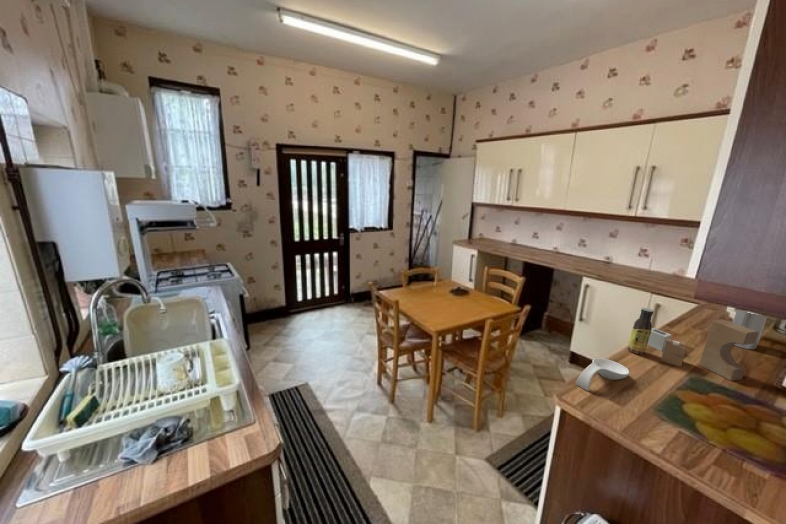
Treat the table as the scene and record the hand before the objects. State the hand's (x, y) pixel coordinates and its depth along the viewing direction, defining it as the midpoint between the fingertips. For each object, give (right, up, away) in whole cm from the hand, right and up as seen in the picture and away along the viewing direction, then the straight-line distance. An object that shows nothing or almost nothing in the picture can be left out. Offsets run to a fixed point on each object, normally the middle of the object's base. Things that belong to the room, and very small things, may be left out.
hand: (743, 295), depth 114 cm
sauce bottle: (-22, -27, +22) cm, 41 cm away
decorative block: (0, -31, +8) cm, 32 cm away
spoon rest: (-50, -32, +3) cm, 60 cm away
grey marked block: (-10, -26, +27) cm, 38 cm away
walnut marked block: (-13, -29, +16) cm, 35 cm away
